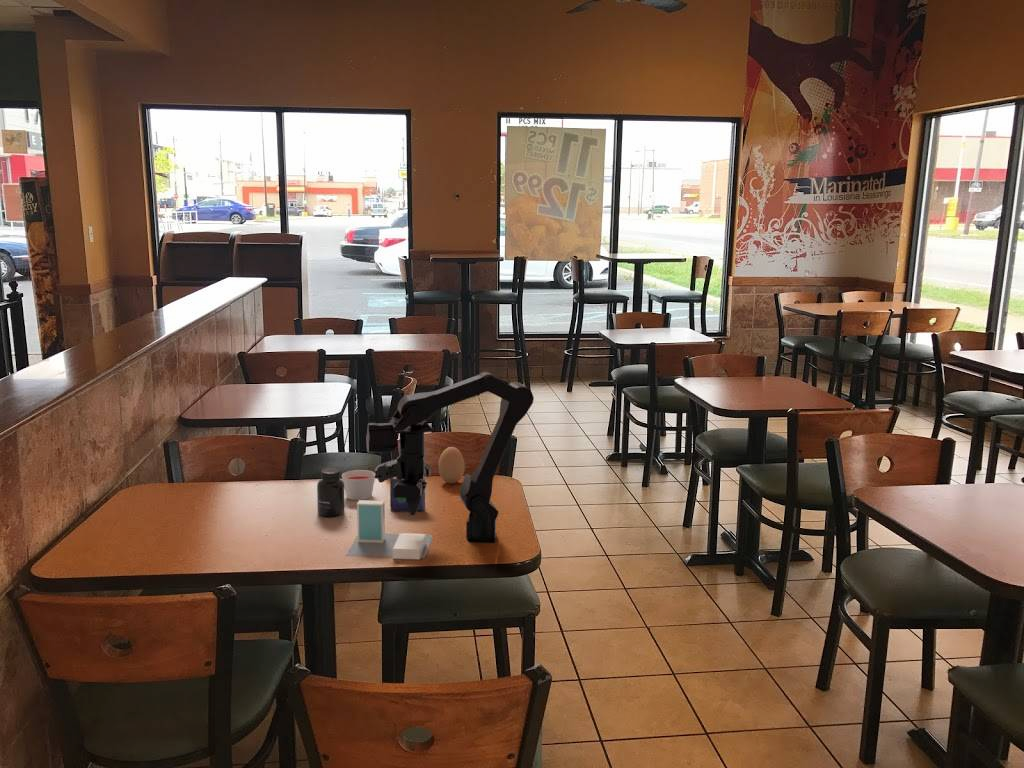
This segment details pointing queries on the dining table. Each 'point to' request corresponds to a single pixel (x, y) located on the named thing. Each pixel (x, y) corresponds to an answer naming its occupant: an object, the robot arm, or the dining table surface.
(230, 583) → the dining table surface
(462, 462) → the egg
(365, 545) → the mat
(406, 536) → the tile
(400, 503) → the flask
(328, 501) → the supplement bottle
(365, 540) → the tile
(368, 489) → the candle
